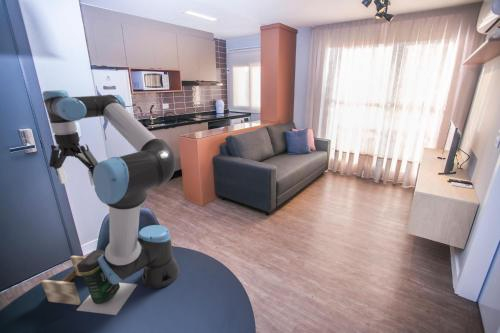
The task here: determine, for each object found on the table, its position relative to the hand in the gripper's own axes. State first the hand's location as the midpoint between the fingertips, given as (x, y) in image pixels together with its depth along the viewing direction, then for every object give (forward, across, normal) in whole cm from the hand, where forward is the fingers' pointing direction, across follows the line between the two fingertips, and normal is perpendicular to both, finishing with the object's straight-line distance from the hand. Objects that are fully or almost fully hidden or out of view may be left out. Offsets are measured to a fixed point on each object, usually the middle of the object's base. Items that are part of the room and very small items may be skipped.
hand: (79, 183), depth 101 cm
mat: (+41, -16, +17) cm, 47 cm away
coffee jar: (+40, -16, +17) cm, 46 cm away
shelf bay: (+41, -1, +15) cm, 43 cm away
